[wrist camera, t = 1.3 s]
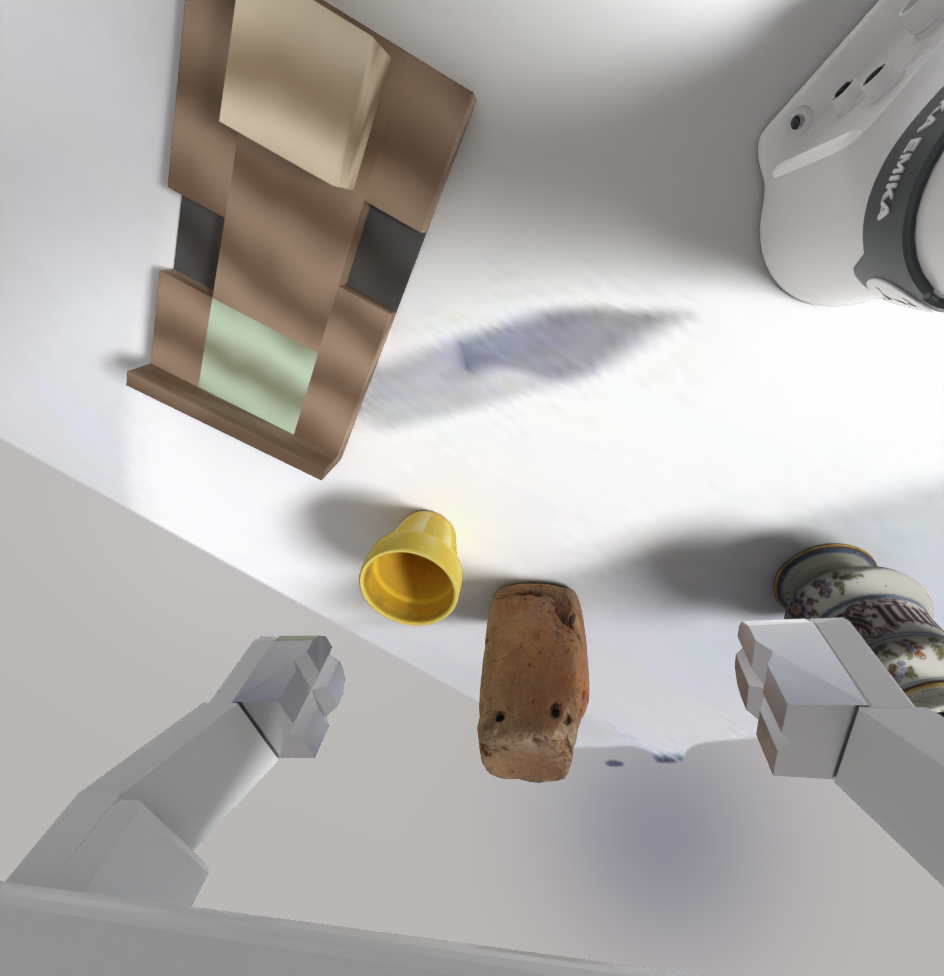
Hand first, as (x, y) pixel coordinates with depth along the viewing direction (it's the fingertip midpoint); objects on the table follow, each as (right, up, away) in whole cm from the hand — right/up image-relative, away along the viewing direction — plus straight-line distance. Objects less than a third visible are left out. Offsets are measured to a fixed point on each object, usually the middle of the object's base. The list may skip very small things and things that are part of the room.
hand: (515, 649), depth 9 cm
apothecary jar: (+37, -7, +40) cm, 55 cm away
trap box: (-17, +24, +31) cm, 43 cm away
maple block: (-12, +32, +24) cm, 41 cm away
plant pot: (-6, -2, +45) cm, 45 cm away
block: (+7, -11, +47) cm, 49 cm away
